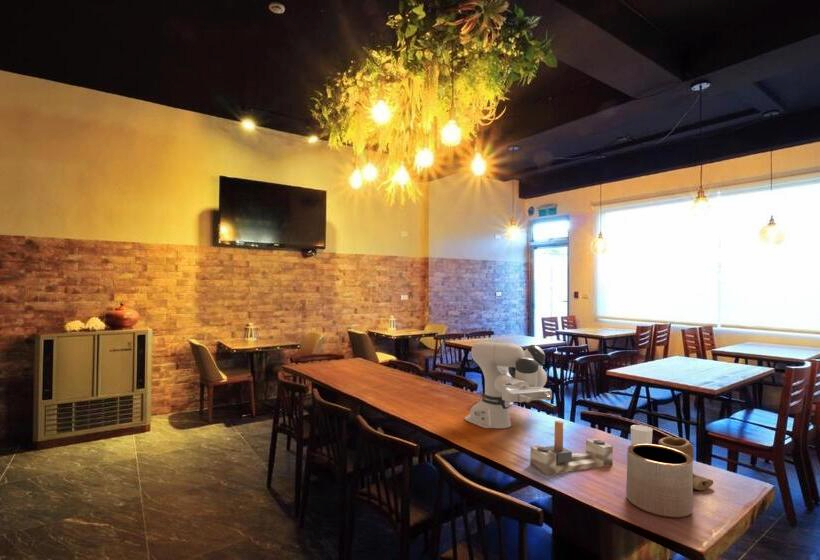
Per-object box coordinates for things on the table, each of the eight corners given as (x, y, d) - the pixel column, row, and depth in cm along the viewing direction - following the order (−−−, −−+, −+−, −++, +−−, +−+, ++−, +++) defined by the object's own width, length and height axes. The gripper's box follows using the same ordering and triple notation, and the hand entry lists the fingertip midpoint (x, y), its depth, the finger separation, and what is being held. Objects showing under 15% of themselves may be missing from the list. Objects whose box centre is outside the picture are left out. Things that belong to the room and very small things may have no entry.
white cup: (640, 457, 171) (641, 431, 172) (625, 449, 179) (626, 425, 179) (656, 455, 174) (657, 430, 174) (641, 448, 181) (641, 424, 181)
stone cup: (650, 479, 151) (650, 436, 152) (666, 471, 158) (666, 430, 159) (698, 497, 139) (699, 450, 139) (714, 488, 146) (714, 443, 146)
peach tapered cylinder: (557, 465, 156) (558, 425, 156) (545, 458, 163) (546, 419, 163) (571, 463, 158) (572, 424, 158) (558, 456, 165) (559, 418, 165)
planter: (676, 526, 122) (677, 470, 122) (614, 500, 136) (615, 450, 136) (702, 508, 132) (703, 456, 132) (643, 486, 146) (643, 439, 147)
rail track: (545, 475, 153) (545, 454, 153) (530, 465, 161) (530, 445, 162) (612, 465, 163) (612, 445, 163) (594, 456, 172) (595, 437, 172)
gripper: (539, 396, 188) (561, 405, 175) (498, 400, 181) (517, 409, 168) (540, 382, 189) (561, 389, 176) (498, 385, 182) (518, 392, 169)
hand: (539, 399), depth 172 cm, fingers open, 8 cm apart
